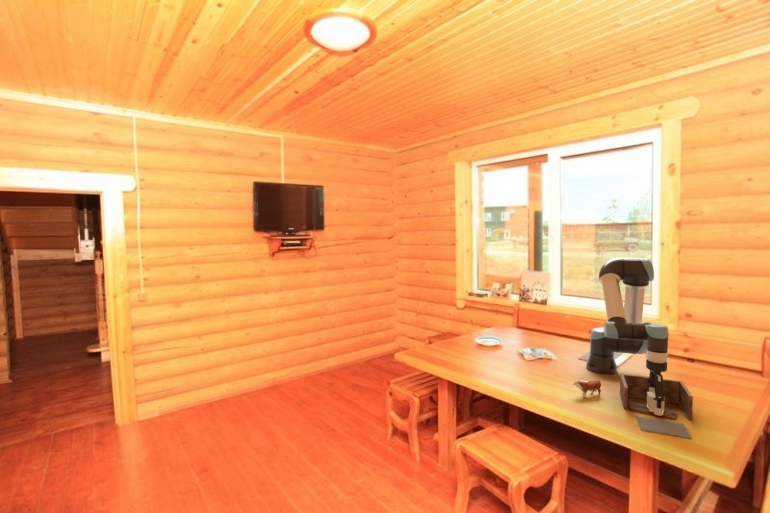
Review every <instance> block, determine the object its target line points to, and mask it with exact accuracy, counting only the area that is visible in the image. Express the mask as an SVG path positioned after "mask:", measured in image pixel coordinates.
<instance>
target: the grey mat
mask: <svg viewBox="0 0 770 513" xmlns="http://www.w3.org/2000/svg"><path fill="white" fill-rule="evenodd" d="M636 418H637V423H638V425H639V429H640V431H644V432H649V433H654V434H660V435H665V436H671V437H676V438H683V439H687V440H688V439H689V440H692V436H691V434H690V433H689V431H688V429H687V428H686V425H685V424H684V423H682V422H675V421H671V420H670V421H669V420H663V419H657V418H651V417H647V416H646V417H645V416H638V415H637V416H636Z"/></svg>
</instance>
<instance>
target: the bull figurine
mask: <svg viewBox="0 0 770 513" xmlns="http://www.w3.org/2000/svg"><path fill="white" fill-rule="evenodd" d="M572 385H573V386H576V387H577V388H578V389H579V390H580V391H582V393H583V394H582V398H583V399H585V398H586V397H587V396H586V395H587V392H588V391H589V392H590V394H589V395H591V396H592V395H593V394H594V392H598V394H597V397H600V396H601V391H602V390H601V386H602V384H601V381H600V380H599V379H597V380H583V379H582V380H580V379H576V380H574V382H573V383H572Z"/></svg>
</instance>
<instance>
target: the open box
mask: <svg viewBox="0 0 770 513" xmlns="http://www.w3.org/2000/svg"><path fill="white" fill-rule="evenodd" d="M619 378H620V379H619V382H620V383H619V394H620V398H621V399H620V400H621V402H622V406H623V410H626V411H628V397H631V398H640V399H645V400H647V392H649V383H648V382H649V376H642V375H634V374H626V373H620V377H619ZM663 392H664V398H665V403H667V402H668V403H673V404H674V403H675V404H679V407H680V408H681V410H682V411H683V413H684V414H685V416H686V418H687V420H688V421H692V420H693V403H694V401H693V400H694V396H693V395H692V393H691V392H690V391H689V389H688V388H687V386H686V384H685V383H684V382H683V380H682V381H681V380H674V379H668V378H667V379H666V378H663Z"/></svg>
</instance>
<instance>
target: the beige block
mask: <svg viewBox="0 0 770 513" xmlns="http://www.w3.org/2000/svg"><path fill="white" fill-rule="evenodd" d="M653 398H655V393H653V392H647V399H646V406H647V405H648V407H649V408H652V409H654V405H655V400H653ZM658 398H661V397H658ZM665 403H666V401H665V398H664V401H663V410H664V411H665Z"/></svg>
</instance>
